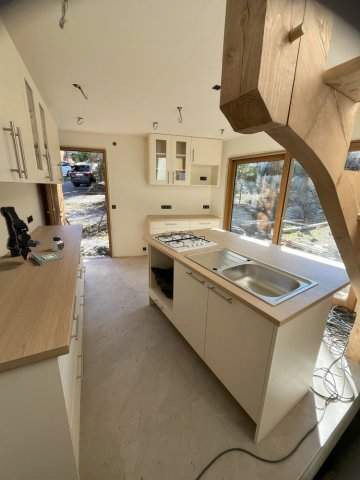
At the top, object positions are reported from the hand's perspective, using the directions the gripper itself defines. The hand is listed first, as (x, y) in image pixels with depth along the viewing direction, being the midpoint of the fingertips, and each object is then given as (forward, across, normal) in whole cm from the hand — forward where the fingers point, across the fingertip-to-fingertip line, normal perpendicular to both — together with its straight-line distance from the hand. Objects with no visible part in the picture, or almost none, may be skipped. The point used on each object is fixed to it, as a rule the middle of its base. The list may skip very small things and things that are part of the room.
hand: (24, 259), depth 154 cm
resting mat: (+3, 0, -16) cm, 16 cm away
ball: (-2, 0, 0) cm, 2 cm away
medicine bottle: (+3, +17, -28) cm, 33 cm away
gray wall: (+3, -1, -7) cm, 8 cm away
